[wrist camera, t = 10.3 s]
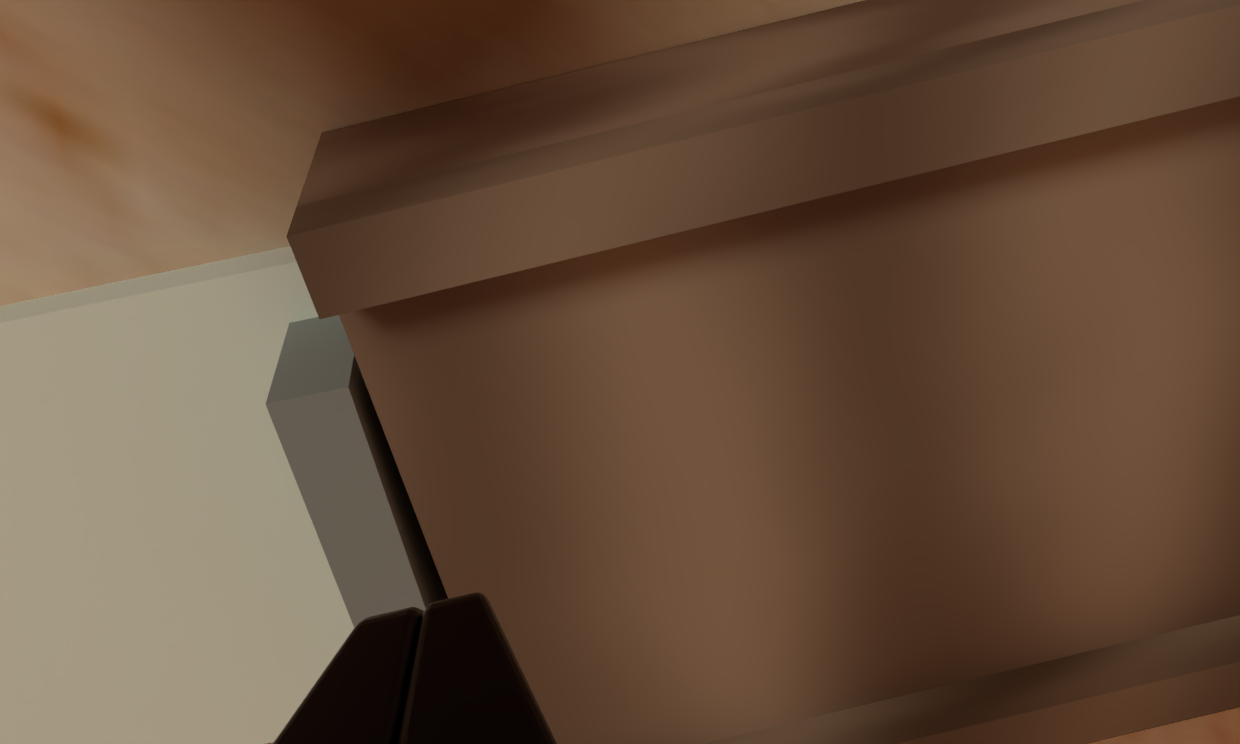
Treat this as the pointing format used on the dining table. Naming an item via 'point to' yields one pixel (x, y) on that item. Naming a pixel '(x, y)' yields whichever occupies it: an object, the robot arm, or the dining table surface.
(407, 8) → the dining table surface
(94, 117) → the dining table surface
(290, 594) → the cover plate
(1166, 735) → the dining table surface
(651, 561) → the walnut box
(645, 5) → the dining table surface
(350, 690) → the robot arm
